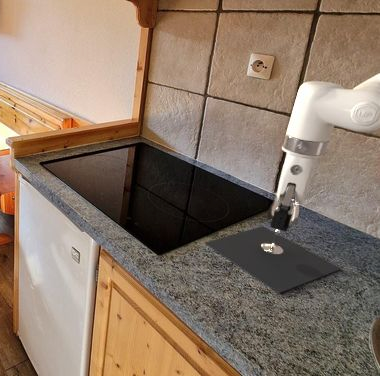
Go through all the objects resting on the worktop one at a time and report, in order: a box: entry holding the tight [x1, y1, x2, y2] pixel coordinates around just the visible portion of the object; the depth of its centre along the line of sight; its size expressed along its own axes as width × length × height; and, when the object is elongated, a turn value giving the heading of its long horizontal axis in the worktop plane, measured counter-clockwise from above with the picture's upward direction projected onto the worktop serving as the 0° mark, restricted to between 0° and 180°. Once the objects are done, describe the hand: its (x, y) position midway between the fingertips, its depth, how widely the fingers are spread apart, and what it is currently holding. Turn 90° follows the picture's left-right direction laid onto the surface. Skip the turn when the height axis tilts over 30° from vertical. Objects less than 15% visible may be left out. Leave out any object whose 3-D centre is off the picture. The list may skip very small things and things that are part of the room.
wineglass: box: [261, 196, 300, 254], centre depth 89 cm, size 6×6×12 cm
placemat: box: [204, 225, 342, 295], centre depth 93 cm, size 20×20×1 cm
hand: (280, 222), depth 89 cm, fingers closed on wineglass, 5 cm apart
